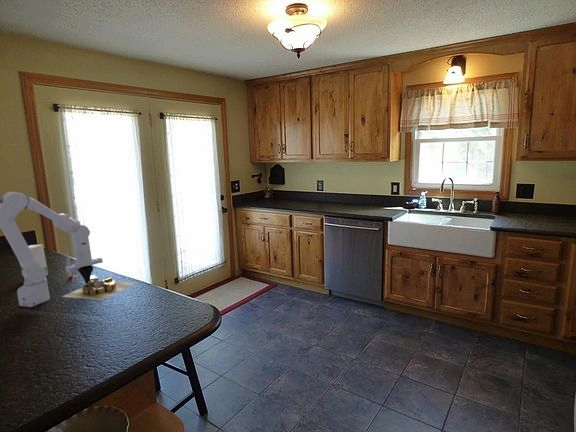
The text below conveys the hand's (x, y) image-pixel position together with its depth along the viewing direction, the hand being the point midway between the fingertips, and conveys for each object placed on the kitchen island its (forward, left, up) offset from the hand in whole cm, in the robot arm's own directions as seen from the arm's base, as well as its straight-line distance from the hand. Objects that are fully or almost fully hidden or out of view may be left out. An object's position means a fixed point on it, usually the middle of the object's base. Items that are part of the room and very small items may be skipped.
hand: (87, 283), depth 152 cm
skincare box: (+8, +40, -3) cm, 41 cm away
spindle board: (-2, -8, -3) cm, 9 cm away
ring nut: (-2, -6, -1) cm, 6 cm away
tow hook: (+10, +16, -3) cm, 19 cm away
